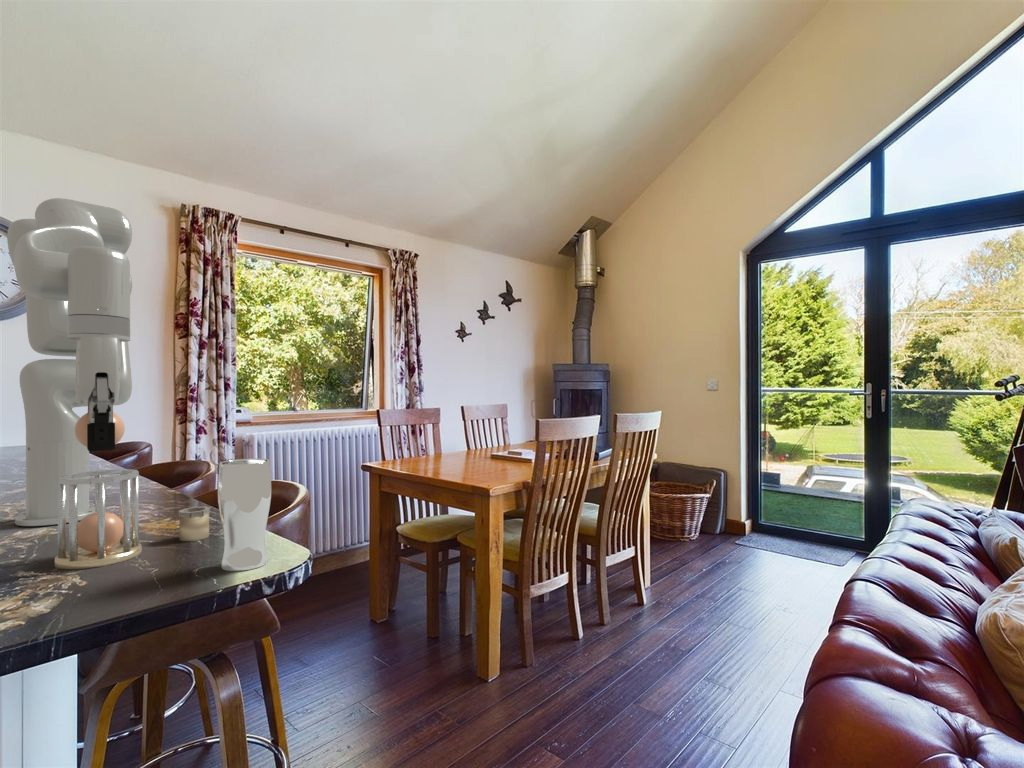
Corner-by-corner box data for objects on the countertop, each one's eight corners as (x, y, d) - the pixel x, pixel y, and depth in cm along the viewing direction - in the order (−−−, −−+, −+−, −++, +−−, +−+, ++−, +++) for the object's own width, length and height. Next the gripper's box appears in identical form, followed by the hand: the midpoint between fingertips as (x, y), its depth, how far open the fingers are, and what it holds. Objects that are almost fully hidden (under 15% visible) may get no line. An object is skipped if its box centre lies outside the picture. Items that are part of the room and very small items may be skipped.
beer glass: (213, 563, 78) (213, 461, 78) (263, 553, 82) (263, 457, 82) (224, 576, 72) (223, 466, 72) (277, 565, 77) (277, 461, 77)
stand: (177, 537, 91) (177, 509, 92) (206, 532, 94) (206, 505, 94) (181, 542, 88) (181, 513, 88) (211, 537, 91) (211, 509, 91)
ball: (73, 550, 81) (73, 511, 81) (122, 542, 85) (122, 505, 85) (74, 560, 76) (74, 518, 76) (125, 551, 80) (125, 512, 80)
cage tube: (55, 556, 81) (55, 473, 81) (137, 543, 88) (137, 466, 88) (54, 574, 73) (54, 482, 73) (145, 558, 80) (145, 474, 80)
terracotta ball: (74, 449, 81) (74, 410, 81) (123, 446, 85) (122, 408, 85) (75, 452, 76) (74, 410, 76) (126, 449, 80) (126, 409, 80)
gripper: (67, 333, 85) (67, 446, 85) (68, 322, 72) (68, 455, 71) (125, 336, 90) (125, 443, 89) (135, 326, 77) (136, 451, 76)
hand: (100, 447), depth 80 cm, fingers closed on terracotta ball, 5 cm apart
